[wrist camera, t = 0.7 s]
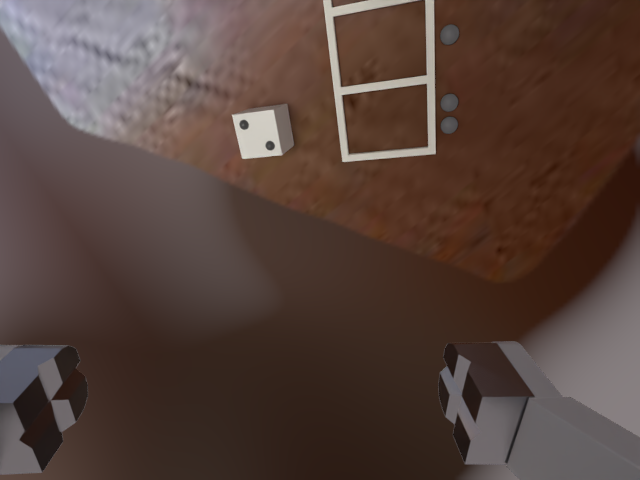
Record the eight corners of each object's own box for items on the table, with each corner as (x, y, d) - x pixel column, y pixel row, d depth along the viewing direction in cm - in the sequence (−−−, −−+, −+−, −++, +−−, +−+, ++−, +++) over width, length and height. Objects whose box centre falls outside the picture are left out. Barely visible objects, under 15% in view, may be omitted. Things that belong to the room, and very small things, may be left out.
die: (249, 108, 46) (230, 115, 41) (287, 103, 45) (271, 110, 40) (257, 149, 48) (240, 160, 43) (294, 145, 47) (280, 156, 42)
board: (314, -82, 36) (313, -84, 36) (460, -121, 33) (461, -124, 32) (343, 160, 46) (342, 162, 46) (457, 150, 43) (457, 152, 42)
